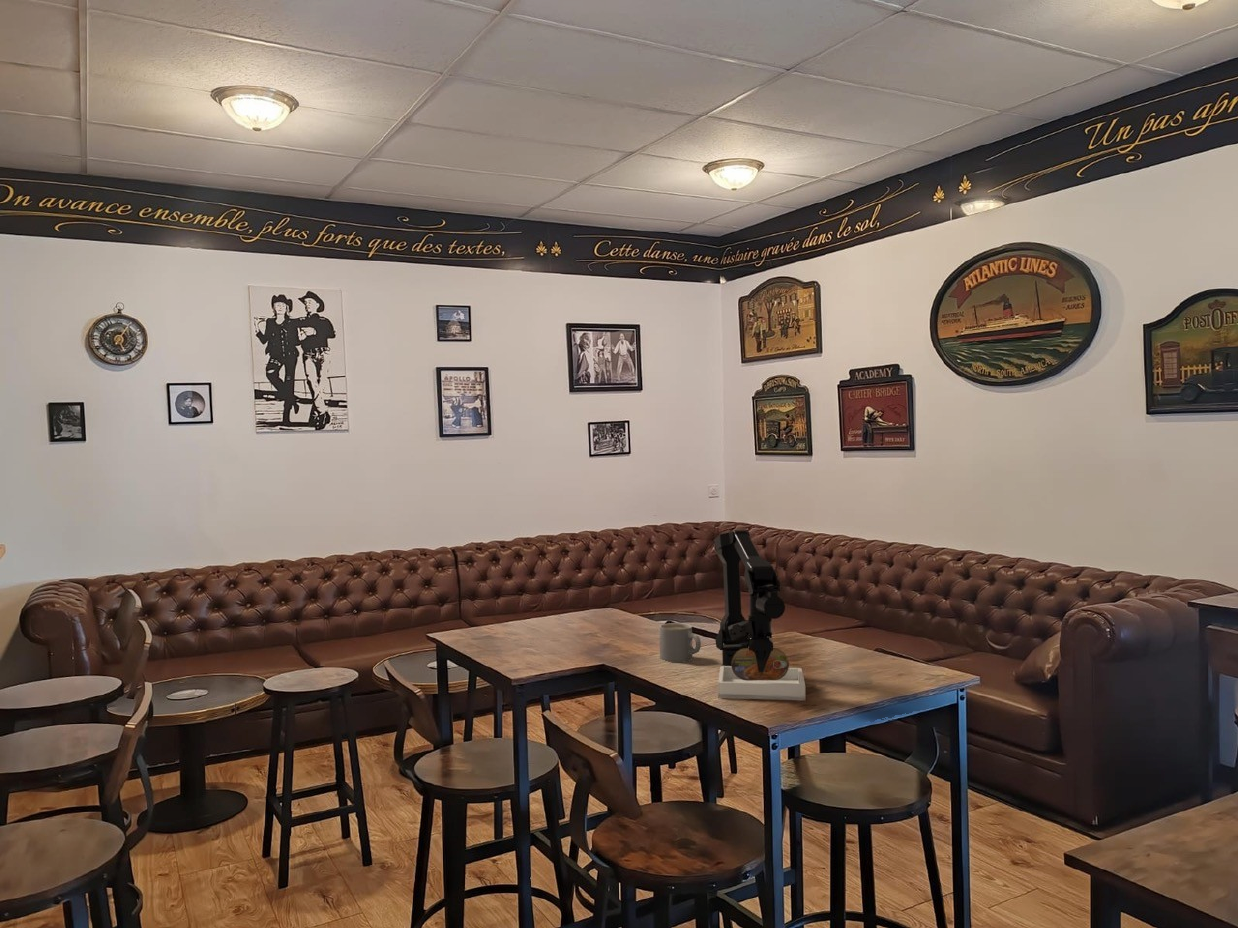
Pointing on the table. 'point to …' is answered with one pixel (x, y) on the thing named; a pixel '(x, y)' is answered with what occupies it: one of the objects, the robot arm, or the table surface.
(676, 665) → the table surface
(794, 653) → the table surface
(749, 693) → the tray
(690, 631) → the coffee mug
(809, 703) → the table surface
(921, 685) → the table surface
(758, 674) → the tin
